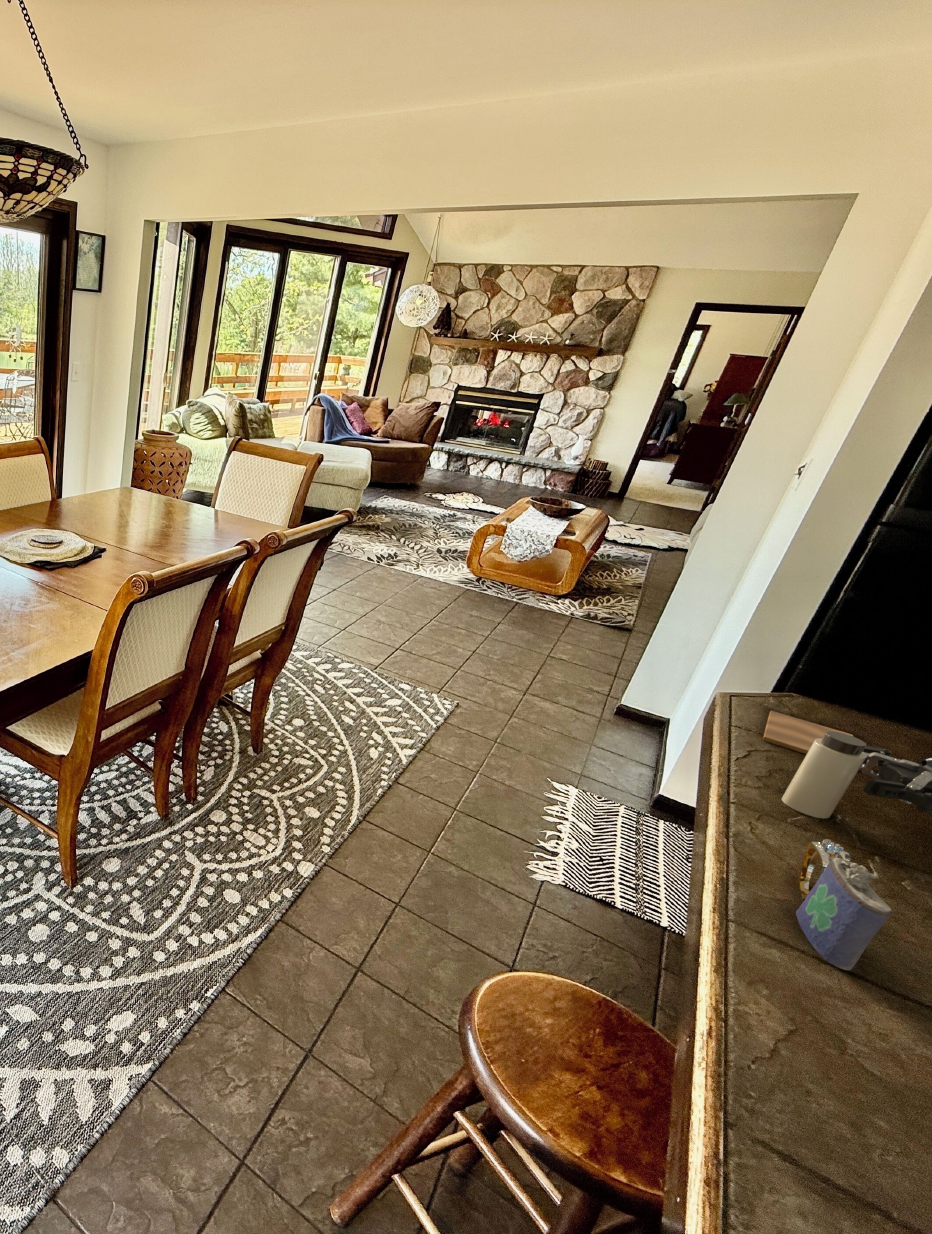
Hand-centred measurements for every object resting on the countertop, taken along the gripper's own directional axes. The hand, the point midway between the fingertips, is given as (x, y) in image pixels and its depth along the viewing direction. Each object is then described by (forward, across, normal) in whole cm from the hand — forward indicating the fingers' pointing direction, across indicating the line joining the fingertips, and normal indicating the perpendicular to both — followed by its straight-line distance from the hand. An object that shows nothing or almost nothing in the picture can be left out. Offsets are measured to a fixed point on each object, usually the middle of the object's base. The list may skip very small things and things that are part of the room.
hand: (842, 769), depth 94 cm
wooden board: (-16, -25, +7) cm, 31 cm away
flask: (+22, +31, +7) cm, 39 cm away
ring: (+18, +23, +7) cm, 30 cm away
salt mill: (+2, 0, +7) cm, 7 cm away
